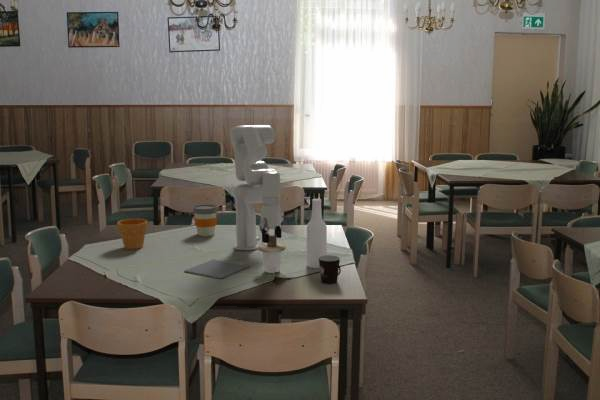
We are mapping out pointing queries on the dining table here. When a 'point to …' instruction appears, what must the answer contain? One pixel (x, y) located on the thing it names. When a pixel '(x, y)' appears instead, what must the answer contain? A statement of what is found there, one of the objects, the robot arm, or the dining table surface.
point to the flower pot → (132, 232)
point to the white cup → (272, 261)
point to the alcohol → (316, 236)
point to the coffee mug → (329, 268)
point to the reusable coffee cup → (205, 219)
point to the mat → (217, 269)
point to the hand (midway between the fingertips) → (271, 240)
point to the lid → (272, 245)
